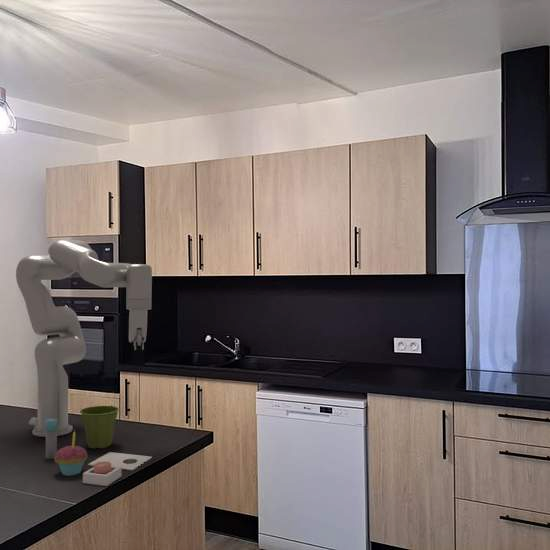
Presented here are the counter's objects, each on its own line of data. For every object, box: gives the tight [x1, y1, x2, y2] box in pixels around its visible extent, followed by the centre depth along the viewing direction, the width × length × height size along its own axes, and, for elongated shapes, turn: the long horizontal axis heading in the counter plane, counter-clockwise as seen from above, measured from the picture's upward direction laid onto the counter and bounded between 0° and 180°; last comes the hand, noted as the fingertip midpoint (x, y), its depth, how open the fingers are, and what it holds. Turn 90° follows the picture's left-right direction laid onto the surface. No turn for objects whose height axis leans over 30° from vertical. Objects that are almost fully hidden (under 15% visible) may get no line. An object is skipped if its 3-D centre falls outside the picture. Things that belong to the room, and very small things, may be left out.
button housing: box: [82, 466, 122, 487], centre depth 150 cm, size 7×7×2 cm
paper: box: [87, 451, 153, 471], centre depth 165 cm, size 14×11×1 cm
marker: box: [45, 418, 58, 460], centre depth 167 cm, size 3×3×11 cm
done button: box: [93, 462, 111, 475], centre depth 150 cm, size 4×4×2 cm
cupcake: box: [54, 429, 88, 477], centre depth 155 cm, size 9×8×12 cm
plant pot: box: [79, 405, 120, 449], centre depth 179 cm, size 12×12×11 cm
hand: (138, 360), depth 176 cm, fingers open, 9 cm apart
